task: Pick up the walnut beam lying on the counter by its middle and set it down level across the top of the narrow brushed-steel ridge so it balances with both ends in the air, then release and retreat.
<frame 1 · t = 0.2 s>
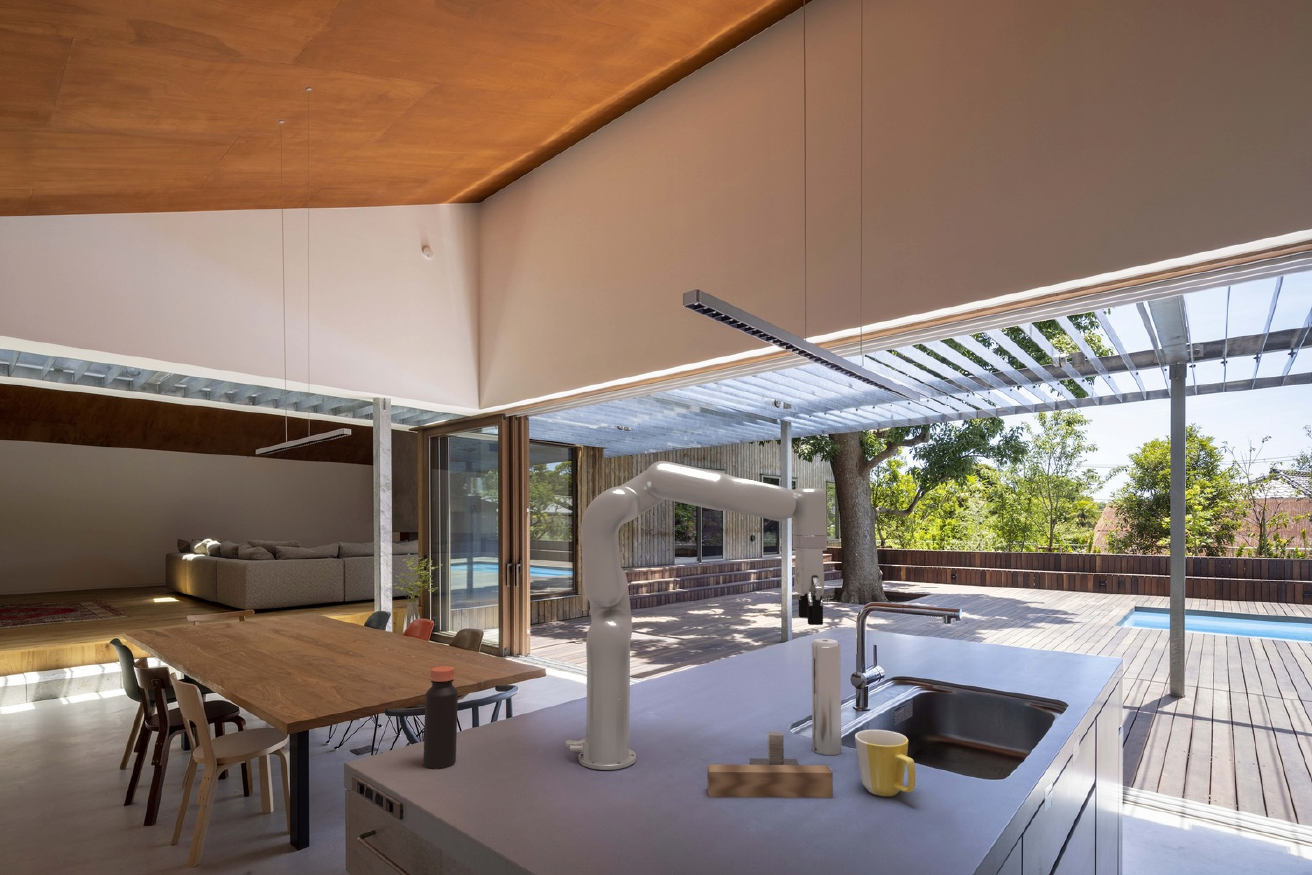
hand: (810, 620, 163), 31 cm above the counter, tool pointing down, fingers open, 9 cm apart
walnut beam: (769, 794, 144), on the counter
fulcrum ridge: (775, 772, 155), on the counter
silver metal cylinder: (826, 751, 169), on the counter
bottle: (439, 764, 159), on the counter
mug: (886, 795, 144), on the counter
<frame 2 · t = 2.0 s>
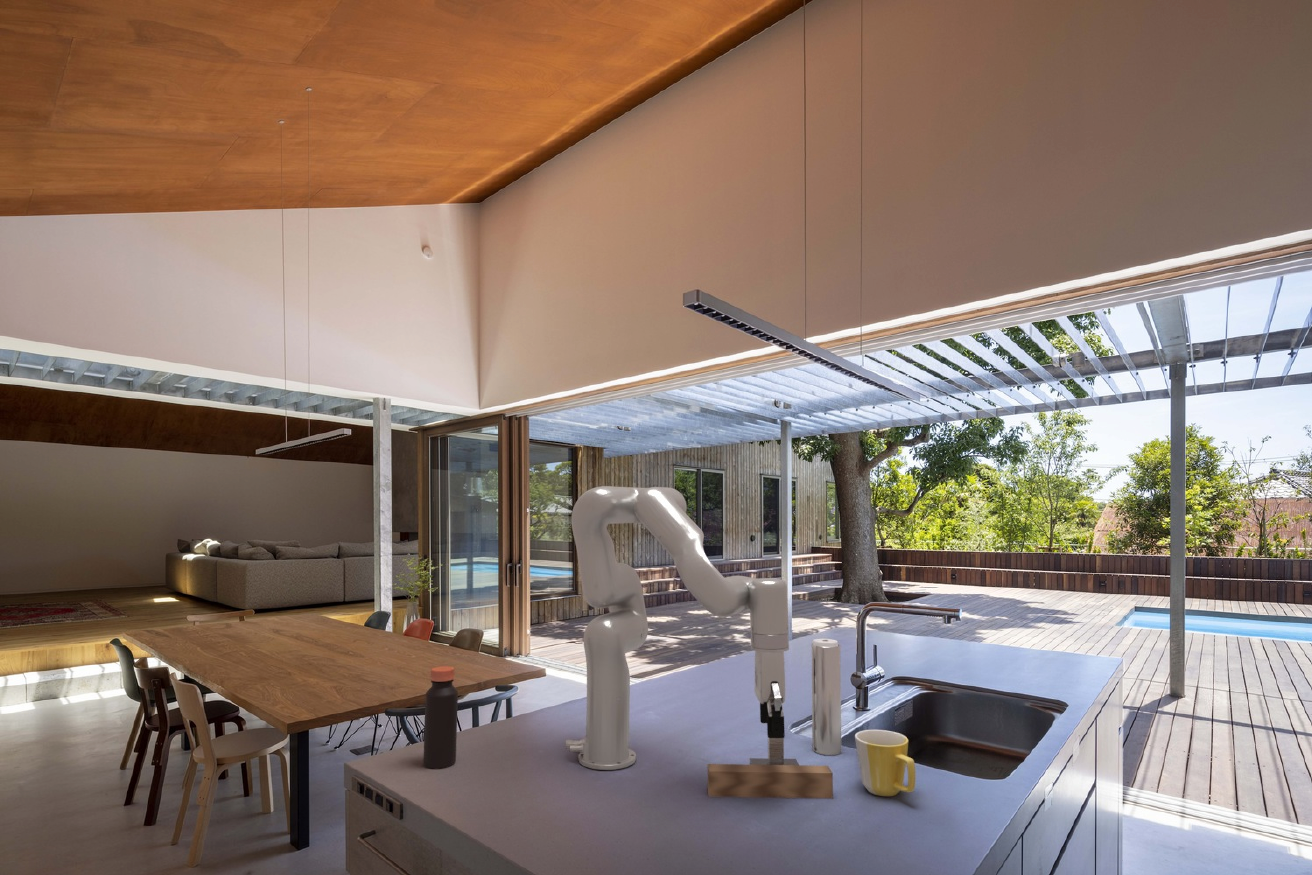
hand: (772, 729, 145), 12 cm above the counter, tool pointing down, fingers open, 9 cm apart
nothing on the counter moved.
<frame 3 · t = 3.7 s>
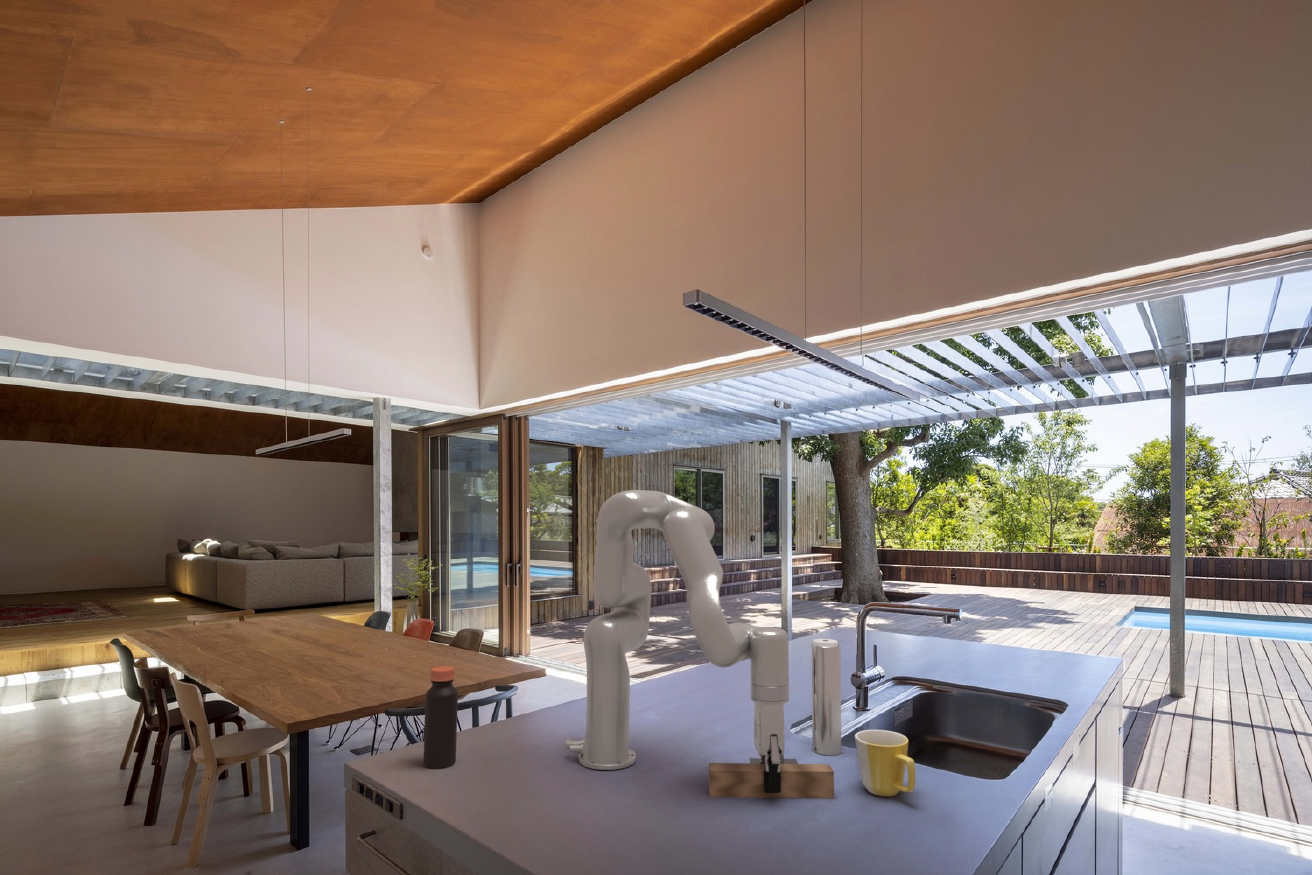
hand: (770, 786, 144), 1 cm above the counter, tool pointing down, fingers closed on walnut beam, 4 cm apart
walnut beam: (770, 793, 144), on the counter, touching gripper
everything else where it was.
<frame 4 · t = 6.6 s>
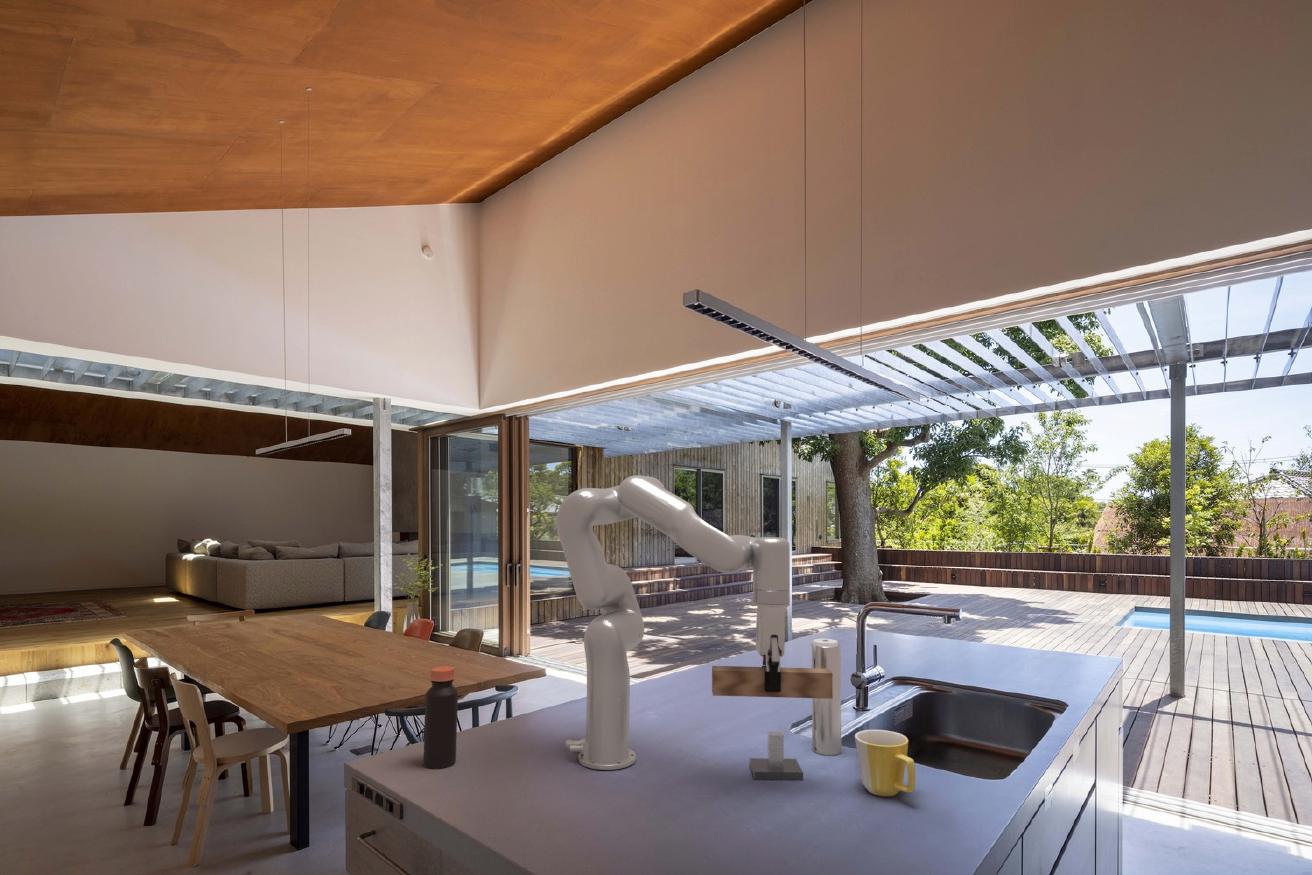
hand: (771, 687, 150), 19 cm above the counter, tool pointing down, fingers closed on walnut beam, 4 cm apart
walnut beam: (771, 694, 150), point 18 cm above the counter, touching gripper
everything else where it was.
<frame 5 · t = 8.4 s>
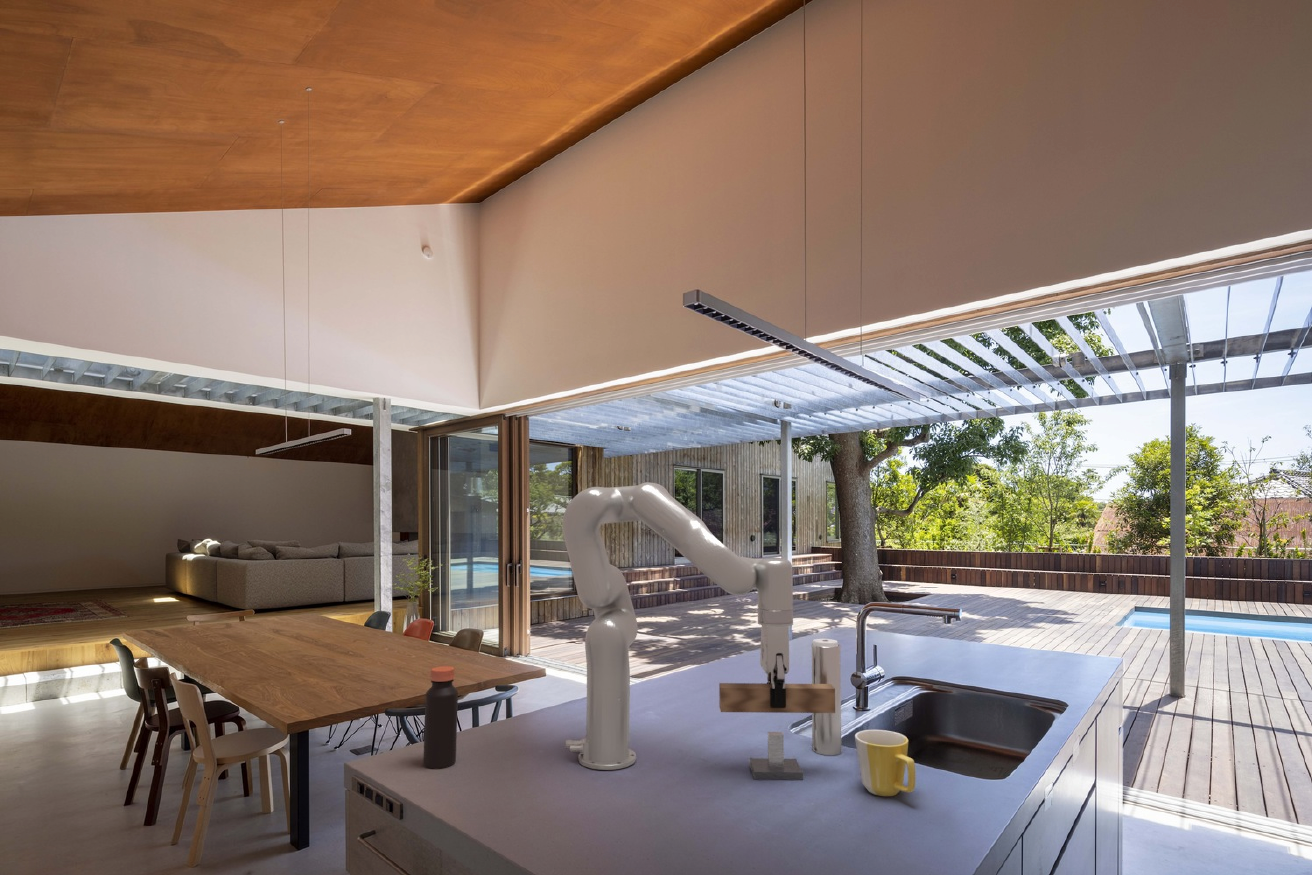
hand: (776, 703, 157), 14 cm above the counter, tool pointing down, fingers closed on walnut beam, 4 cm apart
walnut beam: (776, 709, 156), point 13 cm above the counter, touching gripper
everything else where it was.
when the fingers open (10 cm above the counter, at t = 9.6 s): walnut beam stays where it is, resting on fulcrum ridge.
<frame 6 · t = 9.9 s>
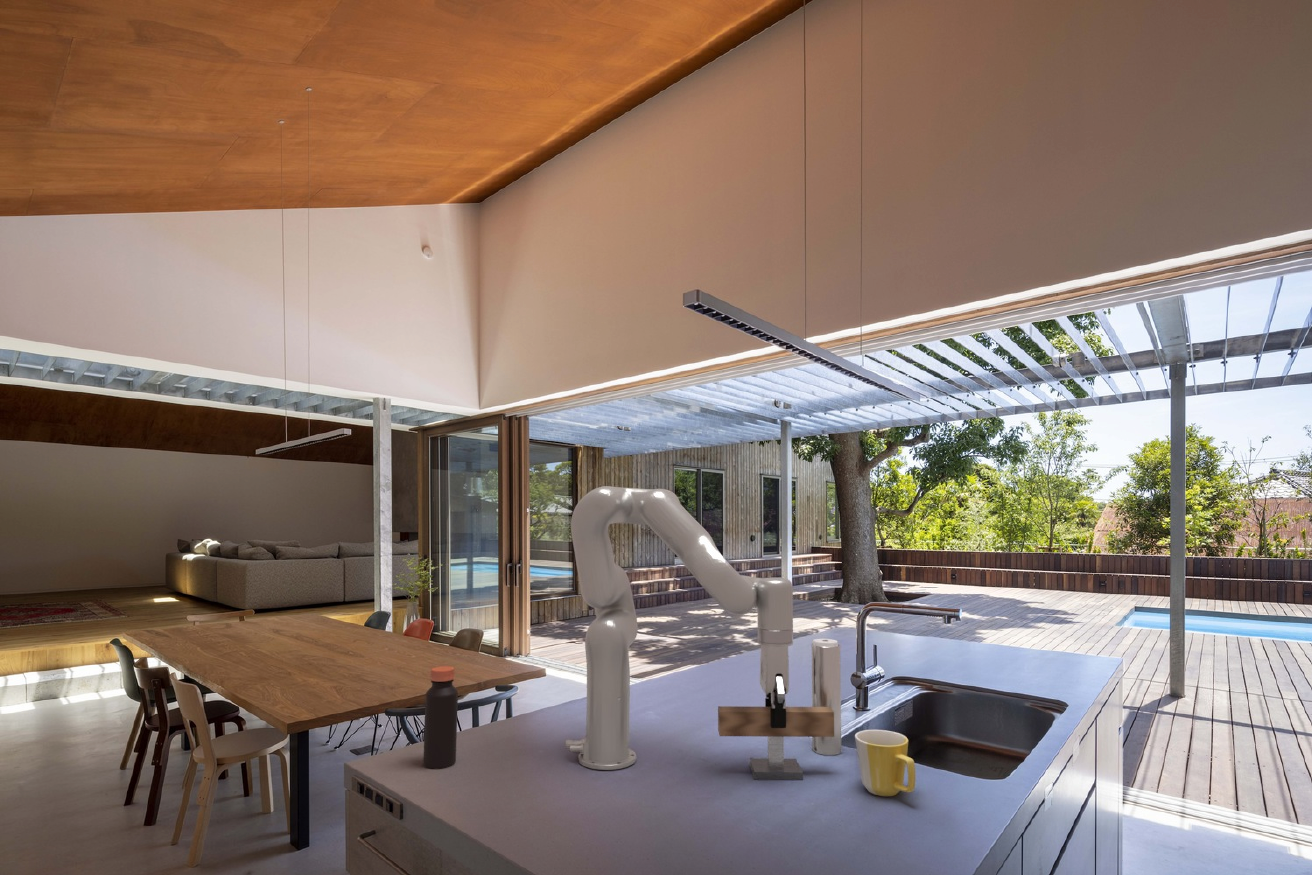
hand: (775, 721, 156), 10 cm above the counter, tool pointing down, fingers open, 6 cm apart
walnut beam: (775, 733, 156), point 8 cm above the counter, touching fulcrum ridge
everything else where it was.
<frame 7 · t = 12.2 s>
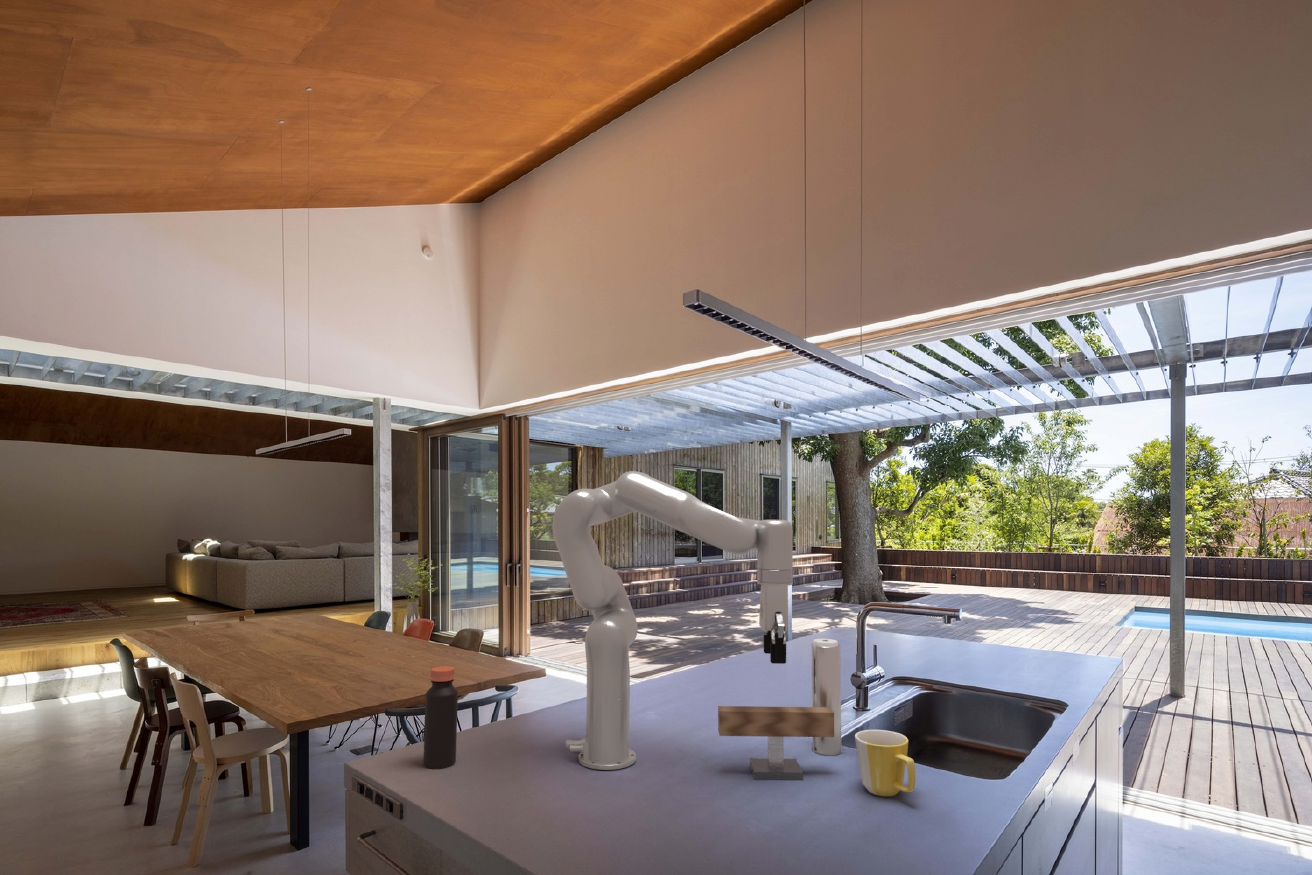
hand: (774, 658, 157), 24 cm above the counter, tool pointing down, fingers open, 9 cm apart
nothing on the counter moved.
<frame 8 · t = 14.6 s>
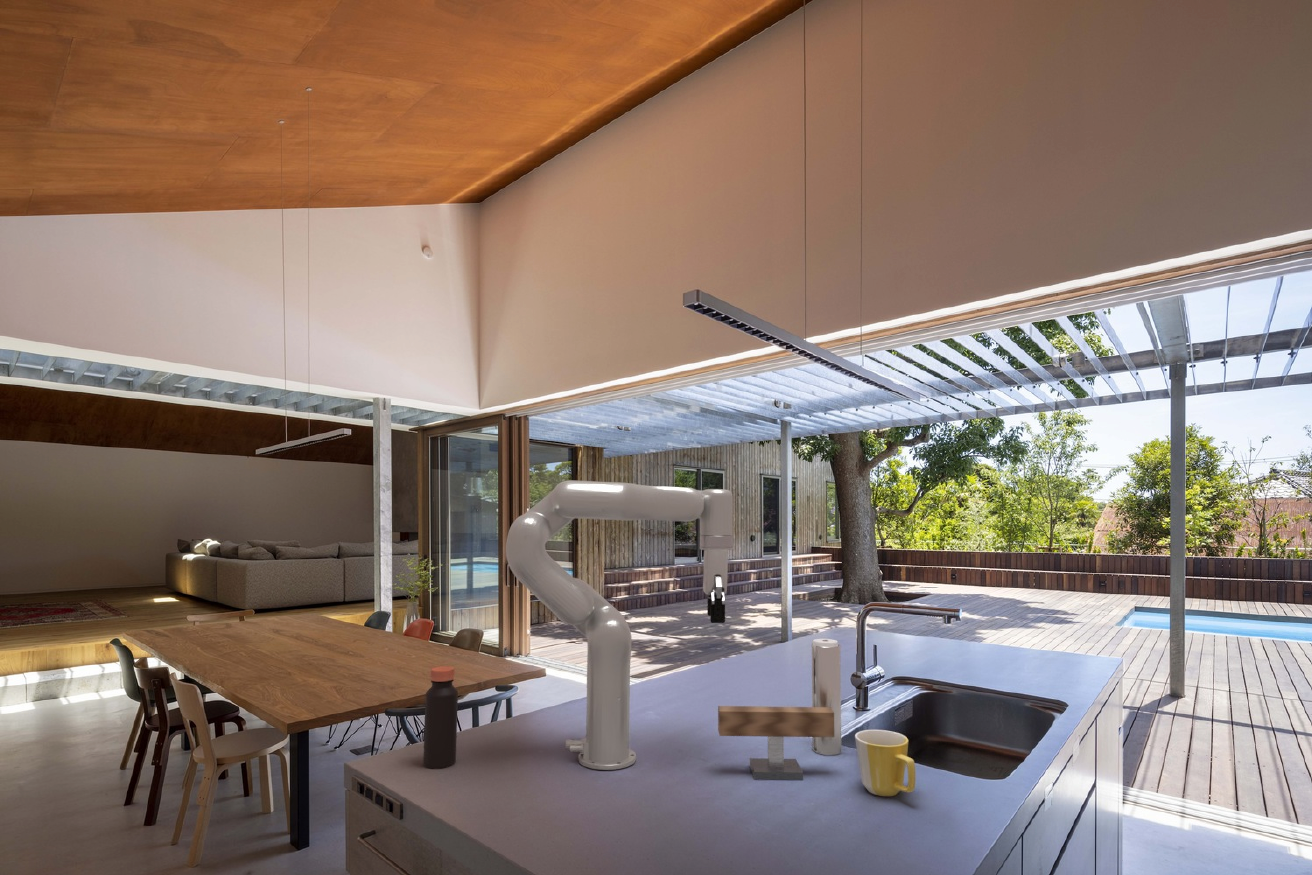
hand: (716, 619, 167), 30 cm above the counter, tool pointing down, fingers open, 9 cm apart
nothing on the counter moved.
at the end: walnut beam 0.0 cm off-centre on the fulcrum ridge, point 8.0 cm above the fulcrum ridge's base; walnut beam tilted 0°; walnut beam touching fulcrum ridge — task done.
